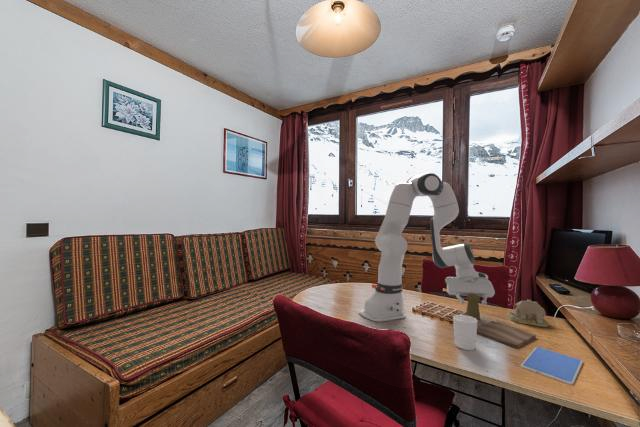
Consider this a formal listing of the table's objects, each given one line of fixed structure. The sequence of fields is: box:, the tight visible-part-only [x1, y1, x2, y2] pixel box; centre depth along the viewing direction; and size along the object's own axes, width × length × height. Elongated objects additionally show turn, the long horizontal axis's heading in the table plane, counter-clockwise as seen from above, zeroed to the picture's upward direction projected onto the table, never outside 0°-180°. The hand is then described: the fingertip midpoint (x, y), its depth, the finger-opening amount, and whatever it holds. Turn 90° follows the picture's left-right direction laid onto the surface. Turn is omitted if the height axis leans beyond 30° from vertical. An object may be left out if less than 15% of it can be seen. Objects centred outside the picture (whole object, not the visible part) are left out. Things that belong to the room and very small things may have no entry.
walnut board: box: [477, 320, 537, 349], centre depth 111 cm, size 16×16×1 cm
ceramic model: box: [508, 298, 551, 328], centre depth 125 cm, size 14×11×10 cm
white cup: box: [452, 314, 479, 351], centre depth 102 cm, size 8×8×10 cm
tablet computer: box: [520, 346, 584, 386], centre depth 90 cm, size 19×13×1 cm, turn 130°
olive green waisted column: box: [465, 294, 481, 322], centre depth 129 cm, size 6×6×11 cm
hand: (473, 303), depth 128 cm, fingers open, 8 cm apart
